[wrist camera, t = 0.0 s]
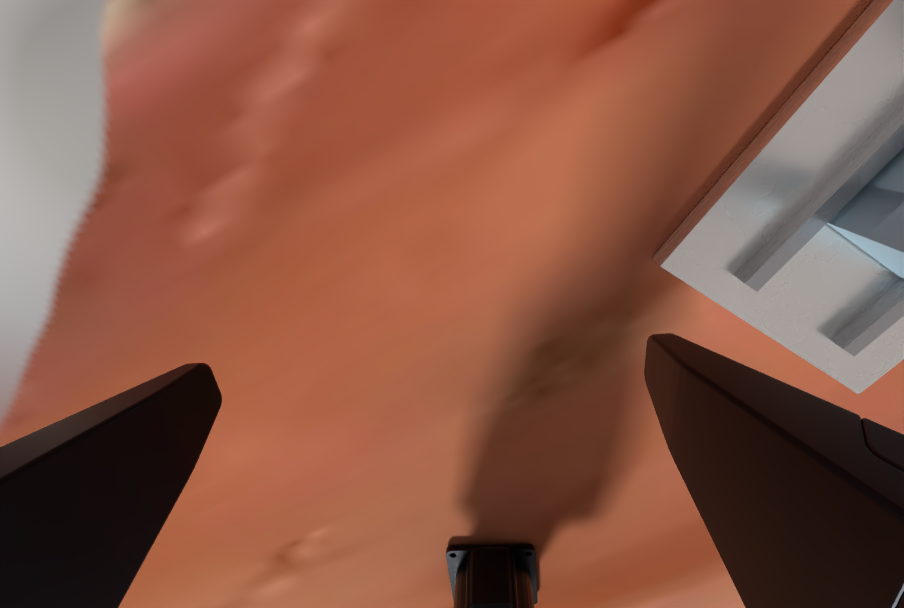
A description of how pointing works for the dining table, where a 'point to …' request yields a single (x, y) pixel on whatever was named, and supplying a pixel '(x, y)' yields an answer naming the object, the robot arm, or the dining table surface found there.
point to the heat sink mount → (810, 213)
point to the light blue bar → (878, 216)
